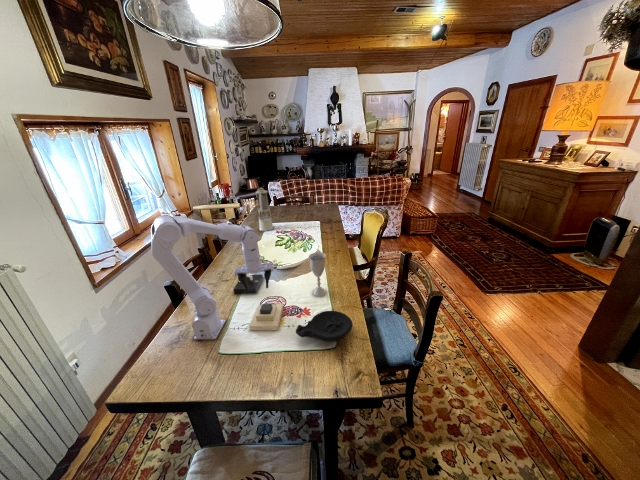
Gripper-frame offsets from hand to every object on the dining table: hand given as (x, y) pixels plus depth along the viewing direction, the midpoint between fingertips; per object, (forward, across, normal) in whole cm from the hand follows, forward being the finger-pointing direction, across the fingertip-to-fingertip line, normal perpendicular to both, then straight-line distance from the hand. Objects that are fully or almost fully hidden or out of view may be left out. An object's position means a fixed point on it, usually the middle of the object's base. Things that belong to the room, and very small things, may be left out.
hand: (257, 288), depth 100 cm
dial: (+7, +6, -16) cm, 19 cm away
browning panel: (+9, +6, -16) cm, 20 cm away
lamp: (+9, +1, -89) cm, 89 cm away
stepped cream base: (+9, -3, +8) cm, 12 cm away
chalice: (+9, -25, -4) cm, 27 cm away
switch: (+6, -3, +8) cm, 10 cm away
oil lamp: (+9, -23, +20) cm, 32 cm away
